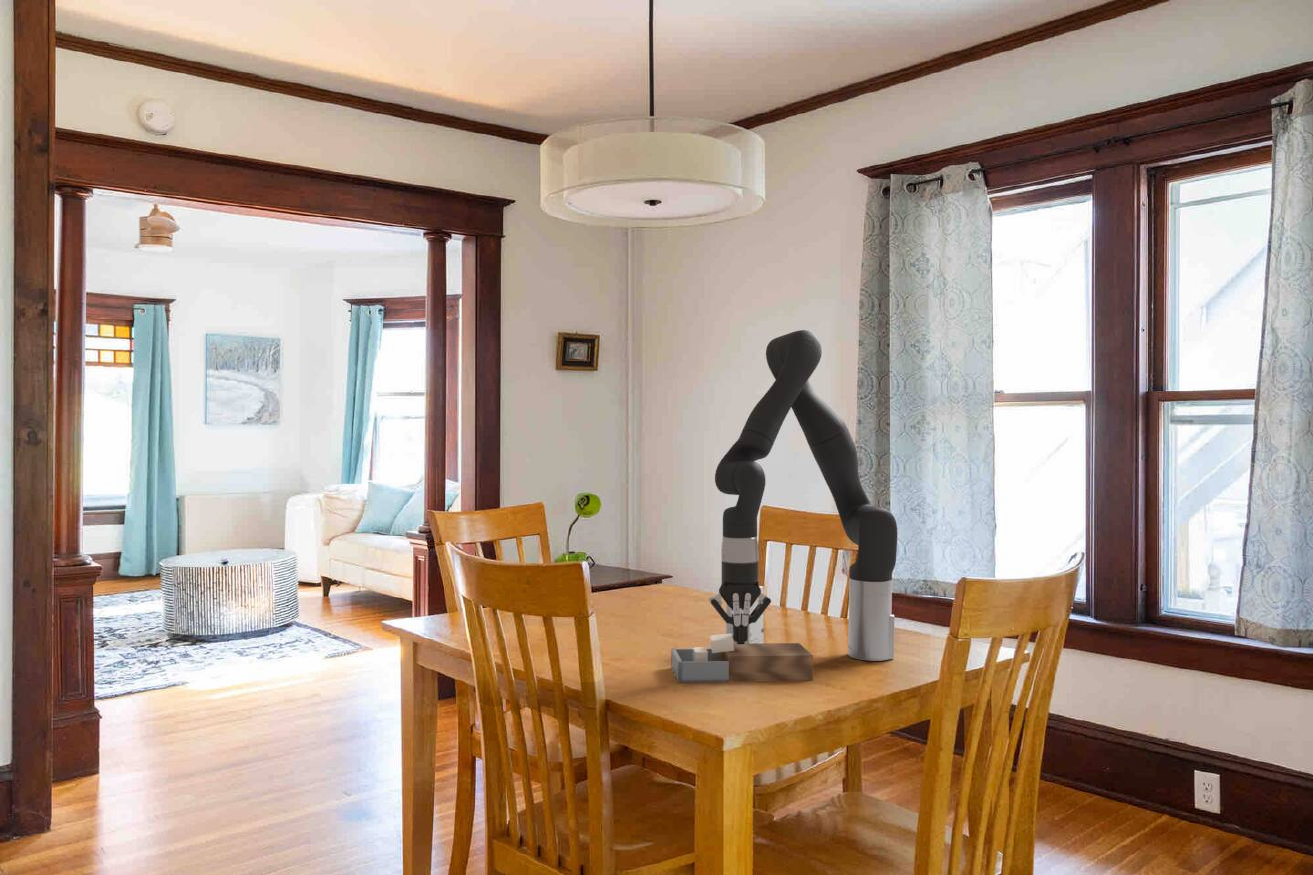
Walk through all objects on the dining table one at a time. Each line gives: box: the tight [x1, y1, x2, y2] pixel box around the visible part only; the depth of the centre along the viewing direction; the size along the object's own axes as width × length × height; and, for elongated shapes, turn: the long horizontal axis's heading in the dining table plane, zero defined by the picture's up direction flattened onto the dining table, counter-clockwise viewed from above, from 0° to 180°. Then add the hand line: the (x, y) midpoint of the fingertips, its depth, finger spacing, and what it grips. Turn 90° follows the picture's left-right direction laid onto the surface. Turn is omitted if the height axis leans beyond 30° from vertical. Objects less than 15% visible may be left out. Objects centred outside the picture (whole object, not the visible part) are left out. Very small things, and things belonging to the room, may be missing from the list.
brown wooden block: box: [719, 642, 814, 683], centre depth 195 cm, size 17×11×5 cm, turn 96°
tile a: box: [709, 633, 734, 653], centre depth 194 cm, size 4×4×2 cm
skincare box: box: [725, 585, 765, 644], centre depth 213 cm, size 8×6×15 cm
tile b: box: [692, 646, 708, 661], centre depth 194 cm, size 4×4×2 cm
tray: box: [670, 647, 729, 684], centre depth 193 cm, size 10×12×4 cm
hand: (740, 643), depth 194 cm, fingers closed
